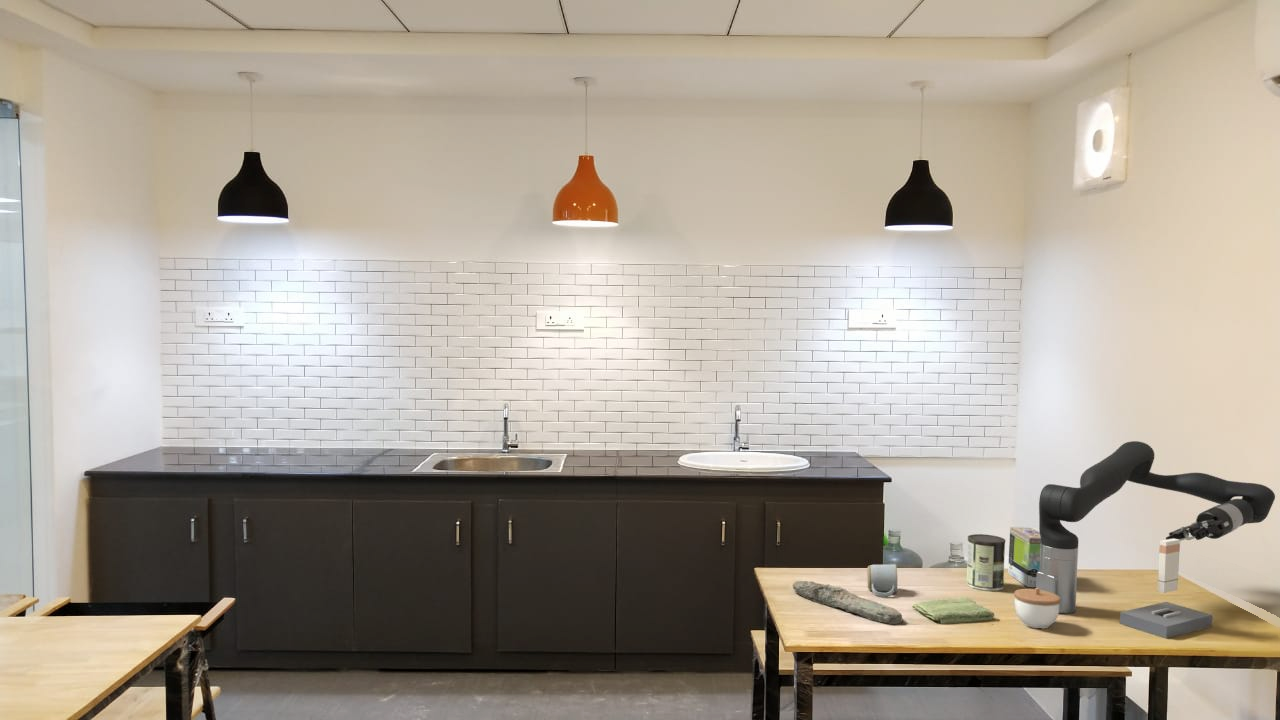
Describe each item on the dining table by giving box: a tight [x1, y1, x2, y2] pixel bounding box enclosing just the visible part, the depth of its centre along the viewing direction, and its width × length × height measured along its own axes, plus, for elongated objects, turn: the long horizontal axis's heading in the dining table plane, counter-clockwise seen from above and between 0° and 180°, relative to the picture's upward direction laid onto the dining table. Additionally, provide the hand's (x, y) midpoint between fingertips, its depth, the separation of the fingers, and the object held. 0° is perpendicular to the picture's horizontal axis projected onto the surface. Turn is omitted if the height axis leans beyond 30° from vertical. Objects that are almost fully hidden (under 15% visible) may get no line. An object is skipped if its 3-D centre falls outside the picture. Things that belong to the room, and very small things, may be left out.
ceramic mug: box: [866, 563, 898, 598], centre depth 258 cm, size 11×8×8 cm
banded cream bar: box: [1157, 538, 1181, 594], centre depth 234 cm, size 6×2×13 cm, turn 119°
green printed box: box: [1007, 526, 1041, 588], centre depth 273 cm, size 15×10×15 cm, turn 179°
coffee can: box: [965, 533, 1007, 592], centre depth 266 cm, size 10×10×14 cm
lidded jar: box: [1013, 587, 1060, 630], centre depth 233 cm, size 11×11×9 cm
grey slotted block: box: [1119, 601, 1213, 639], centre depth 235 cm, size 20×12×4 cm, turn 120°
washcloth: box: [912, 596, 995, 625], centre depth 240 cm, size 13×18×3 cm
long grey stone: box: [792, 580, 903, 625], centre depth 245 cm, size 35×5×10 cm
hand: (1181, 538), depth 241 cm, fingers open, 8 cm apart
